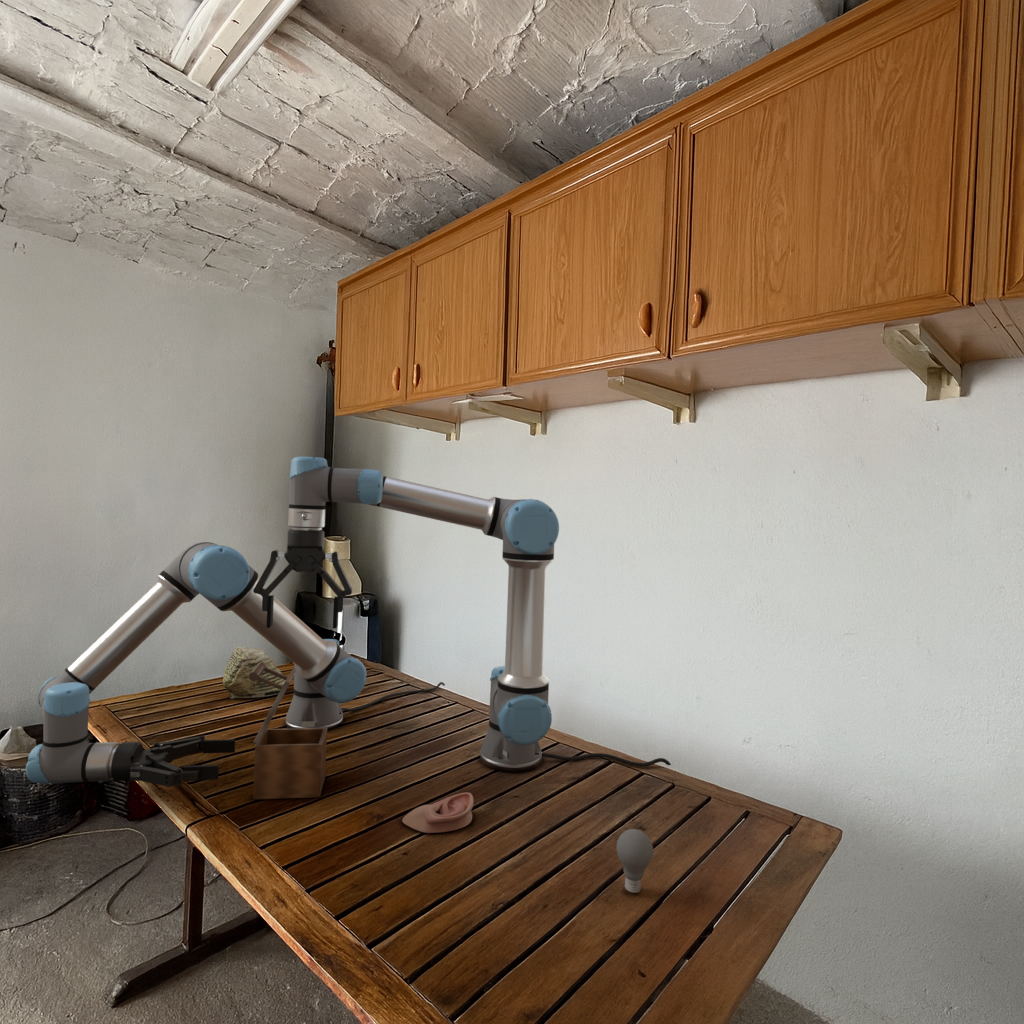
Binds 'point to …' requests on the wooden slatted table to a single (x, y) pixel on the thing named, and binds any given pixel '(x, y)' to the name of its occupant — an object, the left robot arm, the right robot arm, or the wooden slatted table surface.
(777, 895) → the wooden slatted table surface
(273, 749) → the chest
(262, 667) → the lid
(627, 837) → the light bulb
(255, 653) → the fossil
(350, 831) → the wooden slatted table surface
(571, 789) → the wooden slatted table surface
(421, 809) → the anatomical model
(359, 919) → the wooden slatted table surface
